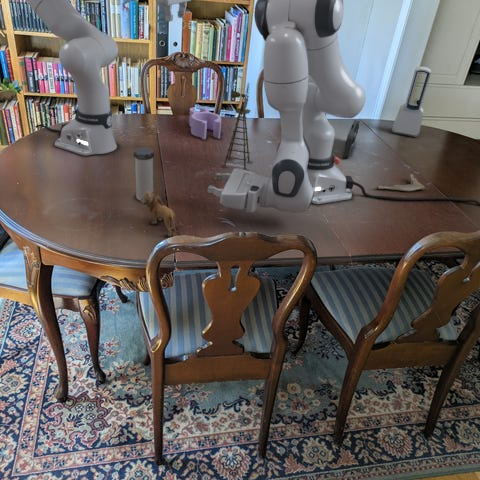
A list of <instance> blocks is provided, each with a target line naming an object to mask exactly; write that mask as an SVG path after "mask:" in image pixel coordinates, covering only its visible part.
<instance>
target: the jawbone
mask: <svg viewBox="0 0 480 480" xmlns="http://www.w3.org/2000/svg"><path fill="white" fill-rule="evenodd" d="M409 179H410V184H409V183H408V184H393V186H388V185H386V186H385V185H380V184H378V185H377V186H376V188H377V189H380V190H391V191H400V192H409V193H410V192H415V191H419V190H425V189H426V187H425V185H424V184H422V183H421V182H419V181H418V179H417V177H415V176H414V174H413V173H410V174H409Z"/></svg>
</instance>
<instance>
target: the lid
mask: <svg viewBox="0 0 480 480" xmlns="http://www.w3.org/2000/svg"><path fill="white" fill-rule="evenodd" d="M154 156H155V150H154V149H153V148H151V147H148V146H139V147H136V148H134V150H133V157H134V159H135V158H137V159H141V160H148V159H151V158H153V159H154Z"/></svg>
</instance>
